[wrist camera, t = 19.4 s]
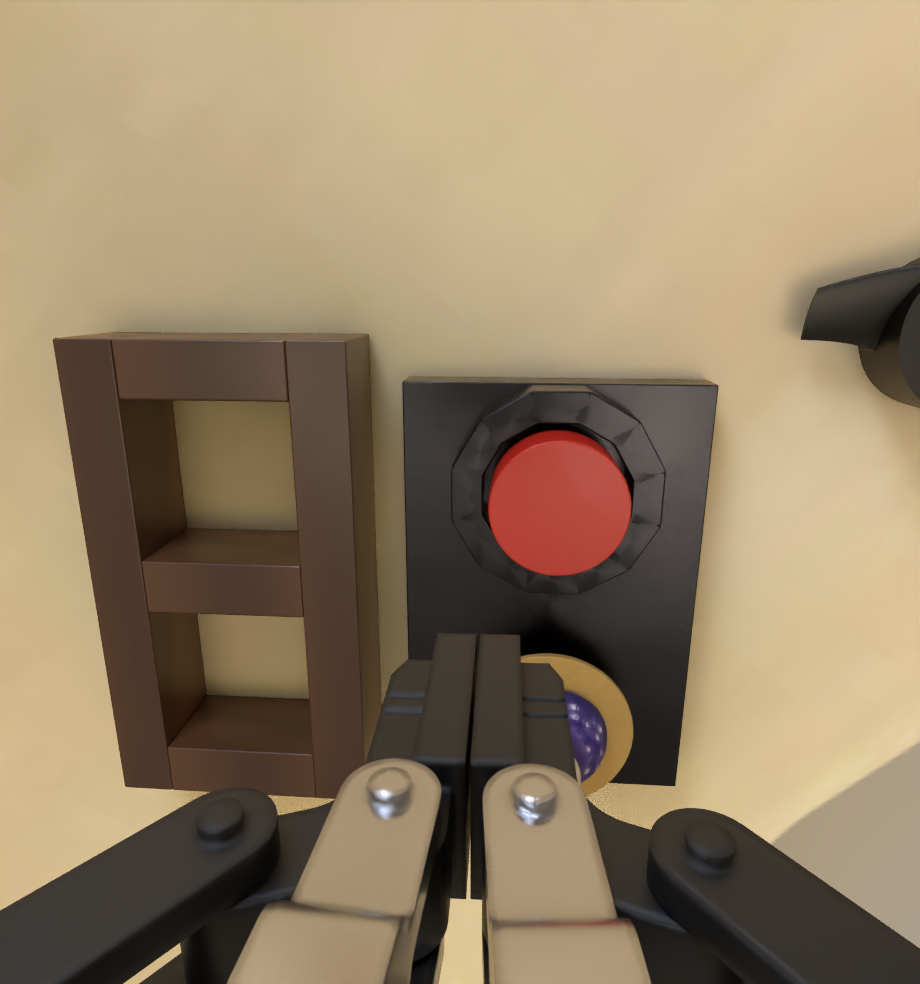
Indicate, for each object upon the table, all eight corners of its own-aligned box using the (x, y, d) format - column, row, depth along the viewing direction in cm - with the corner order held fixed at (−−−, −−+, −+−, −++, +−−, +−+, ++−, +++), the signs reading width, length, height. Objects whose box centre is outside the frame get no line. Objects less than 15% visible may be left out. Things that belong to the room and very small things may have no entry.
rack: (168, 731, 34) (124, 787, 30) (113, 332, 29) (51, 338, 25) (383, 742, 33) (366, 801, 29) (368, 333, 28) (345, 340, 24)
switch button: (490, 427, 25) (488, 439, 23) (627, 430, 25) (637, 441, 23) (488, 553, 27) (487, 574, 25) (618, 557, 26) (626, 578, 24)
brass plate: (462, 649, 28) (461, 653, 27) (638, 656, 27) (640, 660, 27) (462, 794, 30) (461, 799, 29) (626, 803, 29) (627, 808, 29)
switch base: (408, 376, 28) (394, 387, 25) (706, 379, 27) (733, 392, 24) (415, 749, 33) (404, 800, 30) (667, 761, 32) (684, 816, 29)
